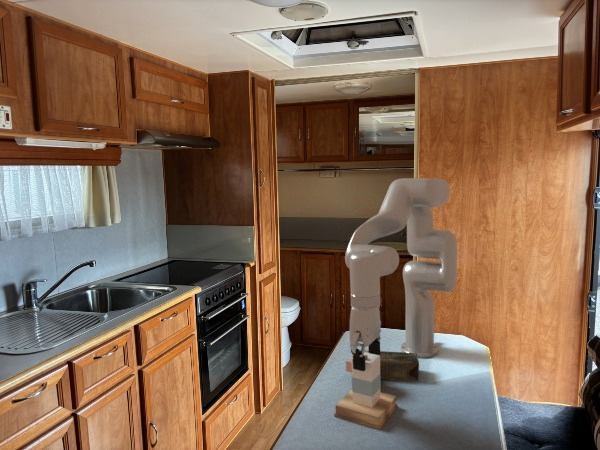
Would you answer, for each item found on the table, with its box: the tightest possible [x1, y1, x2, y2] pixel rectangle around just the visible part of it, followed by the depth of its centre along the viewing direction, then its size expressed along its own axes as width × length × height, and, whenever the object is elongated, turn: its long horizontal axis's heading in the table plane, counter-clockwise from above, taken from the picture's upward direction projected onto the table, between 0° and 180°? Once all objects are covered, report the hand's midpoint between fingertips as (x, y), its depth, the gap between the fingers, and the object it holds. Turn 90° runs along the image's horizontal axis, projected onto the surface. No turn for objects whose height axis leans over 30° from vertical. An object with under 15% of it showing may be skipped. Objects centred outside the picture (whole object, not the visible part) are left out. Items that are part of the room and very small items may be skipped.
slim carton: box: [351, 352, 382, 408], centre depth 124 cm, size 6×6×13 cm
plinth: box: [333, 389, 398, 430], centre depth 125 cm, size 13×13×3 cm
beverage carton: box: [367, 350, 420, 381], centre depth 146 cm, size 8×19×7 cm, turn 81°
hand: (367, 361), depth 124 cm, fingers open, 9 cm apart
